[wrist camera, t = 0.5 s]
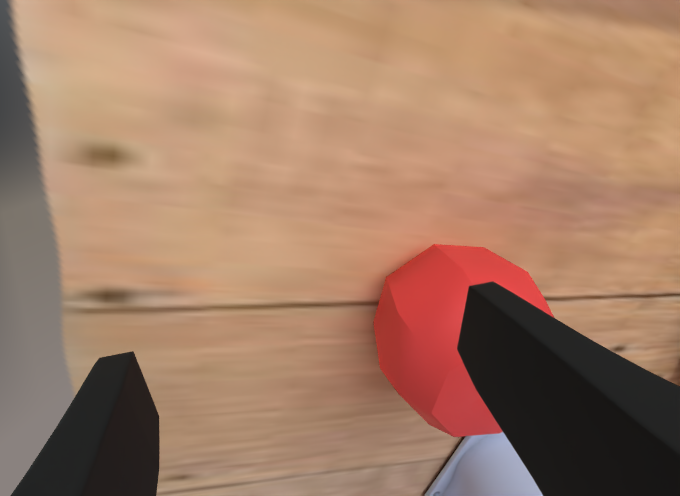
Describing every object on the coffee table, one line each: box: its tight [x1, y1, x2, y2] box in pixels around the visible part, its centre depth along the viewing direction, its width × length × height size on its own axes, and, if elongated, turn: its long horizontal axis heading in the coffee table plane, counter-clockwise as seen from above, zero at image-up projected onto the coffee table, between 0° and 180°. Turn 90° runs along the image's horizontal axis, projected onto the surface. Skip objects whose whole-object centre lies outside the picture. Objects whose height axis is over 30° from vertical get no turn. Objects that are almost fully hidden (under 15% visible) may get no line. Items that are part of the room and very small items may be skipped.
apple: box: [374, 244, 554, 437], centre depth 20 cm, size 8×8×8 cm
